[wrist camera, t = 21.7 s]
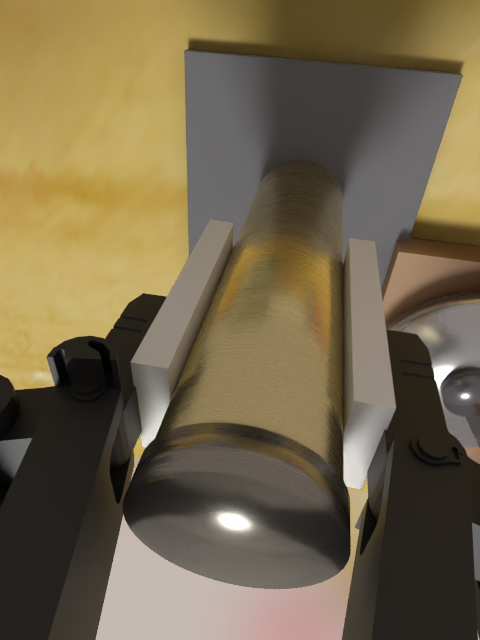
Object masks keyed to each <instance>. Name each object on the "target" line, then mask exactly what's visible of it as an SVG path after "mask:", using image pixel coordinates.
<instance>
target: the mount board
mask: <svg viewBox="0 0 480 640" xmlns="http://www.w3.org/2000/svg"><path fill="white" fill-rule="evenodd" d="M467 291H480V247H478V246H470V245H462V244H455V243H447V242H439V241H432V240H424V239H416V238H409V241H408V242H401V241H396V244H395V247H394V250H393V253H392V256H391V260H390V263H389V266H388V269H387V273H386V276H385V279H384V282H383V286H382V289H381V294H382V301H383V309H384V317H385V325H386V326H387V325H388V324H389V323H390V322H391V321H392V320H394V319H395V318H396V317H397V316H399V315H400V314H402V313H404V312H405V311H407V310H408V309H410V308H412V307H414V306H416V305H418V304H420V303H423V302H425V301H428V300H430V299H433V298H437V297H440V296H444V295H448V294H453V293H459V292H467ZM464 449H465V450H466V453H467V456H468V457H469V458H471V459H472V460H473V461H475V462H477V463H478V464H480V448H479V447H464Z"/></svg>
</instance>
